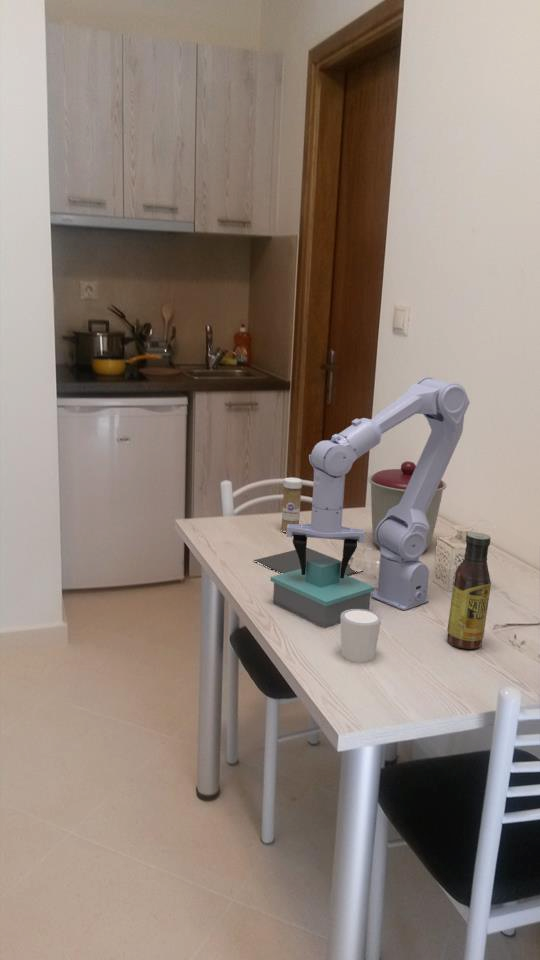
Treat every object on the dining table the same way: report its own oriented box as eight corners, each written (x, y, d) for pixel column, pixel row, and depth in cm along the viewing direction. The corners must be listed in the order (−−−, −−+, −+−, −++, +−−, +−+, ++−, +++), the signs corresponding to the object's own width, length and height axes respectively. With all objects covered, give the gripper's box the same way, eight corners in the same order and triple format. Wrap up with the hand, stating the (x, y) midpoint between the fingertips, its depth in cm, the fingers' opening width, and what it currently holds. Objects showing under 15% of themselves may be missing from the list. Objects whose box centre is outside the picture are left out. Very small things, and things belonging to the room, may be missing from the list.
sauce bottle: (466, 654, 137) (479, 543, 133) (438, 640, 142) (450, 533, 138) (490, 645, 141) (504, 537, 137) (463, 632, 146) (475, 528, 141)
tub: (368, 612, 153) (370, 590, 152) (324, 627, 145) (325, 604, 144) (317, 589, 163) (318, 568, 162) (272, 603, 155) (274, 581, 154)
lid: (374, 594, 152) (376, 566, 151) (325, 610, 144) (327, 580, 142) (318, 571, 163) (320, 545, 161) (270, 584, 154) (271, 557, 153)
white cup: (329, 653, 135) (331, 614, 134) (355, 642, 140) (358, 604, 138) (360, 668, 131) (364, 628, 129) (386, 656, 135) (390, 617, 134)
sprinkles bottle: (282, 534, 198) (285, 481, 195) (279, 528, 202) (282, 476, 199) (300, 534, 199) (303, 481, 195) (297, 528, 203) (300, 477, 200)
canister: (392, 531, 205) (399, 450, 200) (454, 549, 192) (463, 464, 187) (347, 545, 192) (354, 459, 187) (410, 566, 180) (419, 474, 175)
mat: (363, 571, 175) (363, 569, 175) (310, 586, 164) (310, 585, 164) (305, 548, 188) (306, 547, 188) (253, 561, 177) (253, 560, 177)
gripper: (366, 503, 152) (361, 570, 156) (290, 497, 154) (286, 564, 157) (366, 513, 146) (361, 583, 149) (287, 507, 147) (283, 577, 150)
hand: (322, 574), depth 152 cm, fingers open, 7 cm apart
